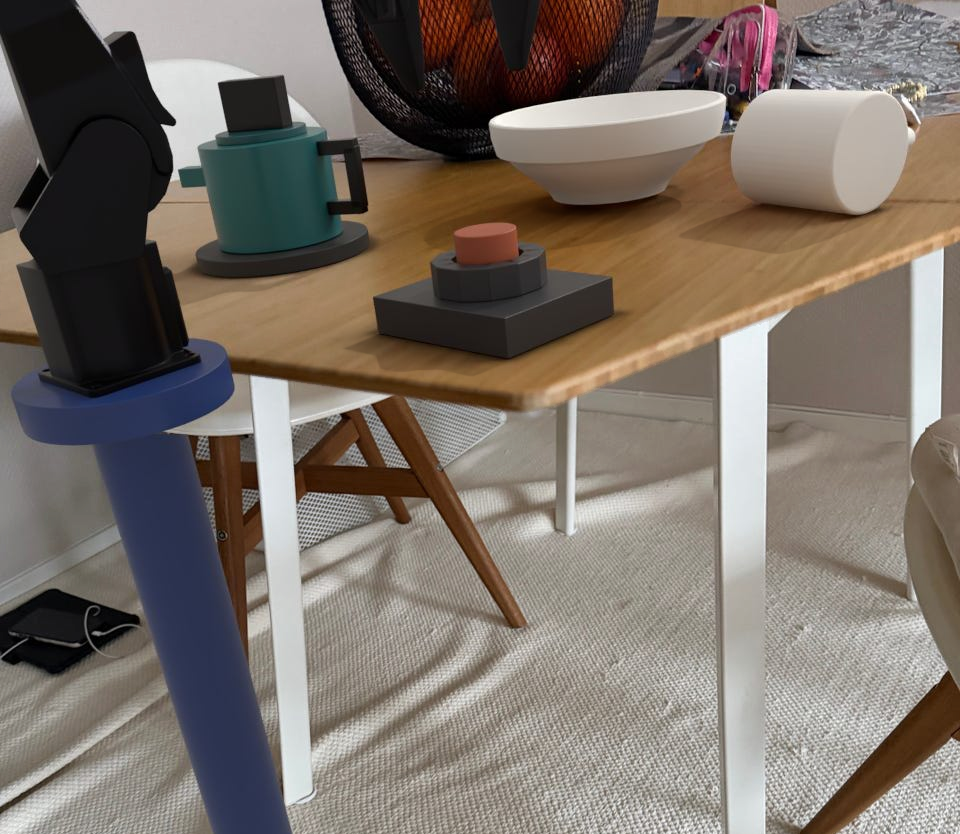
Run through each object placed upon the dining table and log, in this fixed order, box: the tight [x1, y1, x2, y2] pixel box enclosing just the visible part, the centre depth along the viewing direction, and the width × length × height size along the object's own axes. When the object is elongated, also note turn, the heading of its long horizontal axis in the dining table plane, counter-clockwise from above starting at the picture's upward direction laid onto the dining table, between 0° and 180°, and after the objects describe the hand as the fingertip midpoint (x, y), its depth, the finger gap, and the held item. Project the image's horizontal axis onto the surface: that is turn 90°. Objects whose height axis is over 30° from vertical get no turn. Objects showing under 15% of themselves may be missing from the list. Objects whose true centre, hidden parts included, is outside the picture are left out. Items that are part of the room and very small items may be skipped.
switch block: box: [372, 241, 615, 360], centre depth 64 cm, size 11×9×4 cm
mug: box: [730, 88, 916, 216], centre depth 81 cm, size 12×10×8 cm
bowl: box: [488, 89, 727, 206], centre depth 92 cm, size 20×20×7 cm
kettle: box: [177, 74, 369, 254], centre depth 85 cm, size 16×10×12 cm, turn 69°
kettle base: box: [195, 220, 371, 278], centre depth 89 cm, size 14×14×1 cm
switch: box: [453, 222, 519, 265], centre depth 63 cm, size 4×4×2 cm
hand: (468, 81), depth 58 cm, fingers open, 7 cm apart
